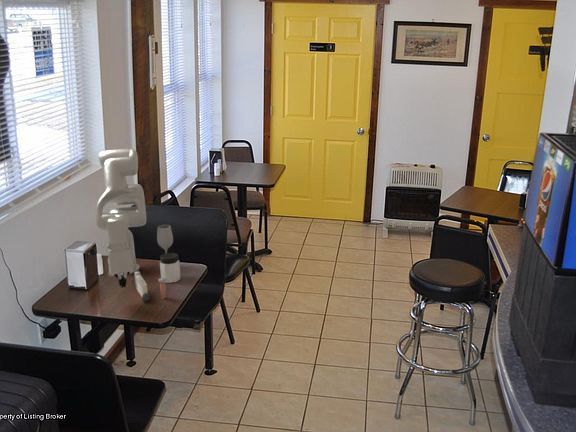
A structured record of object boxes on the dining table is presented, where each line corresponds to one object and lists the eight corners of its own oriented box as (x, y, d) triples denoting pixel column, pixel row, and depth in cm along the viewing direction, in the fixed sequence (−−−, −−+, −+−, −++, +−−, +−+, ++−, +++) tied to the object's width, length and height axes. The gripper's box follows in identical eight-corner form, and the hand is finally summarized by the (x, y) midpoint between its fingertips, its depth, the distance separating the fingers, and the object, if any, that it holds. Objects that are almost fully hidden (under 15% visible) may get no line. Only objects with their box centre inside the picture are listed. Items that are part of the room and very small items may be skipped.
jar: (183, 280, 298) (181, 256, 294) (168, 284, 293) (165, 260, 289) (173, 274, 304) (171, 251, 301) (158, 279, 300) (156, 255, 296)
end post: (158, 298, 279) (156, 279, 276) (163, 295, 282) (162, 277, 279) (163, 300, 277) (161, 281, 275) (169, 297, 280) (167, 279, 277)
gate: (134, 288, 289) (133, 272, 287) (141, 287, 290) (140, 270, 288) (143, 301, 275) (141, 284, 273) (150, 300, 277) (148, 283, 274)
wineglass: (156, 267, 314) (152, 226, 307) (169, 262, 319) (166, 223, 312) (165, 271, 309) (161, 230, 302) (178, 266, 314) (175, 226, 307)
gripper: (102, 251, 262) (107, 293, 267) (138, 245, 269) (142, 286, 274) (98, 246, 269) (103, 287, 274) (134, 240, 275) (138, 280, 280)
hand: (123, 286), depth 274 cm, fingers closed
